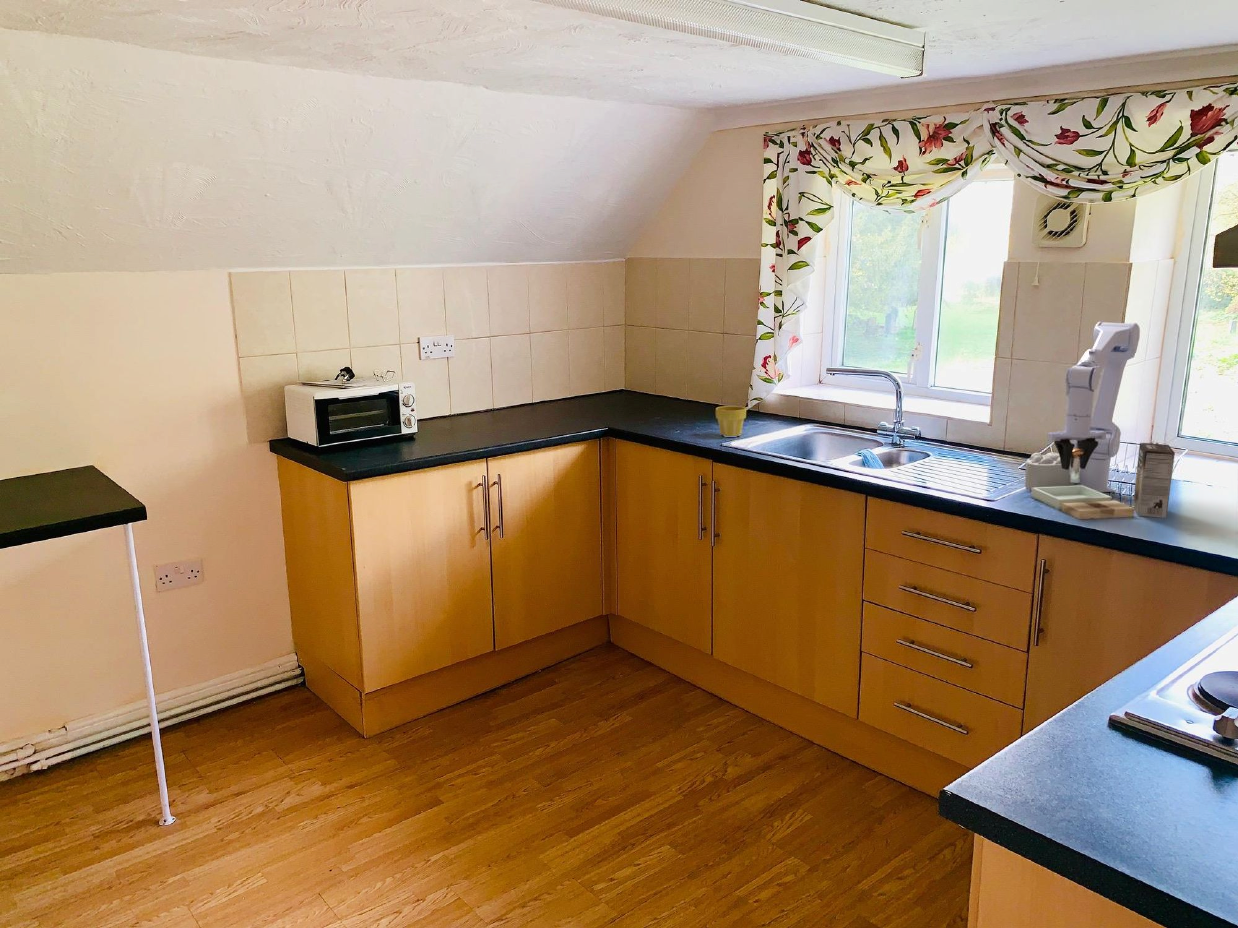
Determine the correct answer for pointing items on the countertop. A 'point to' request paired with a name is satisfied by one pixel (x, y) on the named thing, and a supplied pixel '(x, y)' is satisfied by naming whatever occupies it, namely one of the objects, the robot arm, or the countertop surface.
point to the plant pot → (730, 419)
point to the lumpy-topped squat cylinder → (1046, 471)
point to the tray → (1067, 495)
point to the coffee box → (1153, 480)
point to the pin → (1075, 465)
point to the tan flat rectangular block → (1098, 509)
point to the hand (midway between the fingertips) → (1073, 468)
